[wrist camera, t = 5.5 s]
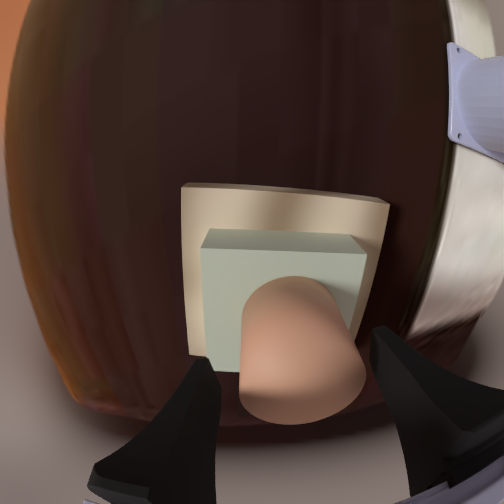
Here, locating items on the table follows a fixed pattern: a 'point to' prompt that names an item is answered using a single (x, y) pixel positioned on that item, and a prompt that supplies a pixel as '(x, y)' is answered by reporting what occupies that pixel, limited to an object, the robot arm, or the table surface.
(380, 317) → the table surface
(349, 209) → the birch slab
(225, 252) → the green block
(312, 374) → the terracotta cylinder
